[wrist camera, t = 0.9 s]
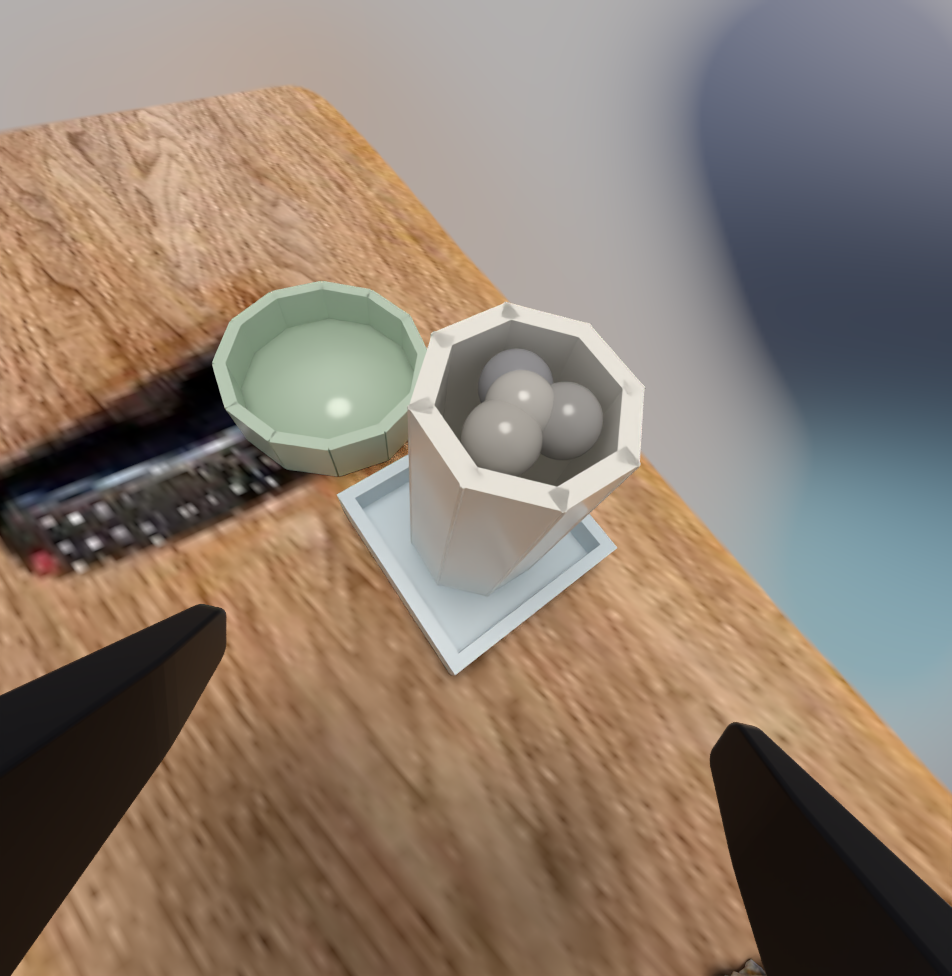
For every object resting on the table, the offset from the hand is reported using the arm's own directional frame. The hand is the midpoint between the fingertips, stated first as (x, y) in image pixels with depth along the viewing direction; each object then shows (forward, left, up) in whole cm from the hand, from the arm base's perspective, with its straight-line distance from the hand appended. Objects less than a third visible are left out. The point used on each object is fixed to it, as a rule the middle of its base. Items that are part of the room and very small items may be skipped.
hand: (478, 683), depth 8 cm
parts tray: (+7, -1, -14) cm, 16 cm away
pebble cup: (+7, -1, -13) cm, 15 cm away
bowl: (+15, +8, -14) cm, 22 cm away
